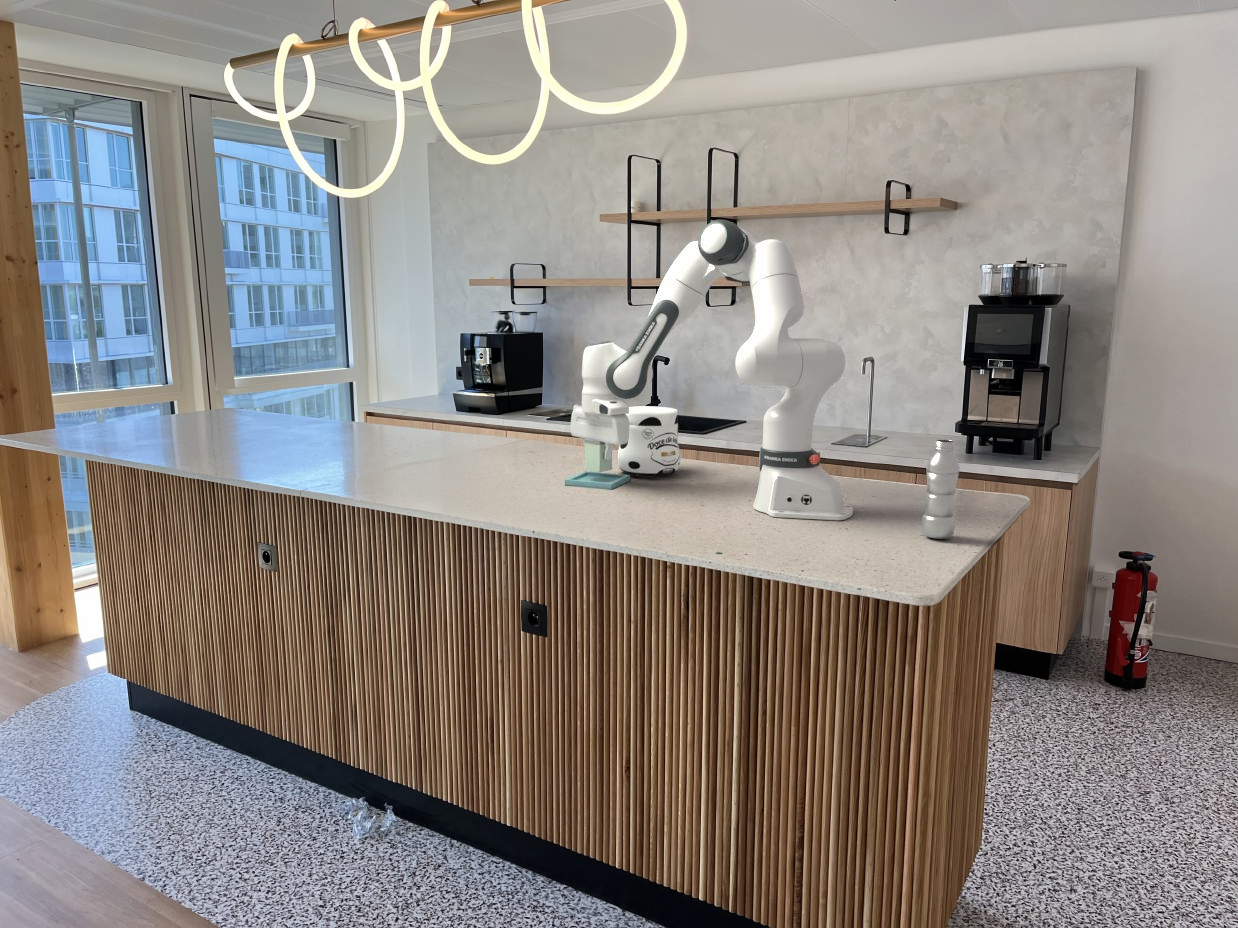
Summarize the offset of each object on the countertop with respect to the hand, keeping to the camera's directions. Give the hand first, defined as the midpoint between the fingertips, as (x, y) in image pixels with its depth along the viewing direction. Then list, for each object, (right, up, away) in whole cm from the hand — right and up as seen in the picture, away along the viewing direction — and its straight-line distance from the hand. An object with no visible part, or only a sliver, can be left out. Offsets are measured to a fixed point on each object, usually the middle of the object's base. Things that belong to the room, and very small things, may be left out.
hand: (598, 457), depth 232 cm
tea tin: (0, -3, +1) cm, 3 cm away
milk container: (+14, -5, +14) cm, 20 cm away
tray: (0, -7, +1) cm, 7 cm away
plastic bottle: (+70, -17, -51) cm, 88 cm away
